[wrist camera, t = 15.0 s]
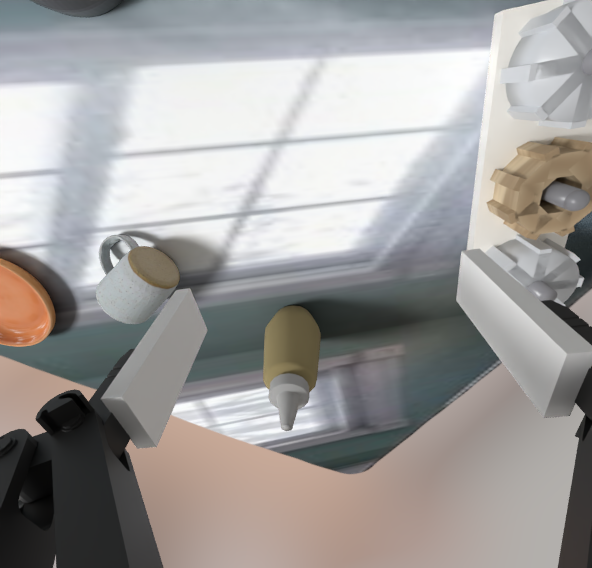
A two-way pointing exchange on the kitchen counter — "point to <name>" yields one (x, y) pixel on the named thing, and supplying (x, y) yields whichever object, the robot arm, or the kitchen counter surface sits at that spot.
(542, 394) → the robot arm
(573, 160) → the wooden gear
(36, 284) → the saucer
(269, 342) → the squeeze bottle
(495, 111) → the gear board
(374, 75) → the kitchen counter surface
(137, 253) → the ceramic mug
